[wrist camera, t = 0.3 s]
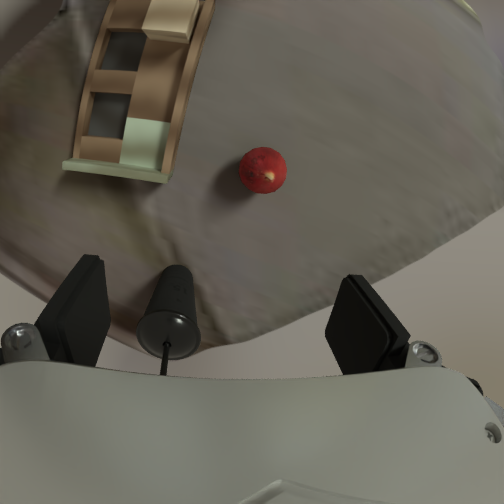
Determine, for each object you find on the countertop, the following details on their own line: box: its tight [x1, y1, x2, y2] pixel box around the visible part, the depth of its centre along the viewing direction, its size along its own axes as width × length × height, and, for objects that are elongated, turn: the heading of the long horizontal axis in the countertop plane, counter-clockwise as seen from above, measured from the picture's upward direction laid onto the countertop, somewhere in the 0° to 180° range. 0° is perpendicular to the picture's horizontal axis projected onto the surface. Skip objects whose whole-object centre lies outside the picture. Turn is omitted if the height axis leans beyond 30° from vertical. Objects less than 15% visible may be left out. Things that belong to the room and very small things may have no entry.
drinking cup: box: [136, 265, 201, 376], centre depth 35 cm, size 8×8×20 cm
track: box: [62, 0, 215, 184], centre depth 29 cm, size 24×14×6 cm, turn 166°
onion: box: [239, 147, 287, 194], centre depth 35 cm, size 6×6×8 cm
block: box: [142, 0, 200, 44], centre depth 25 cm, size 5×5×5 cm
